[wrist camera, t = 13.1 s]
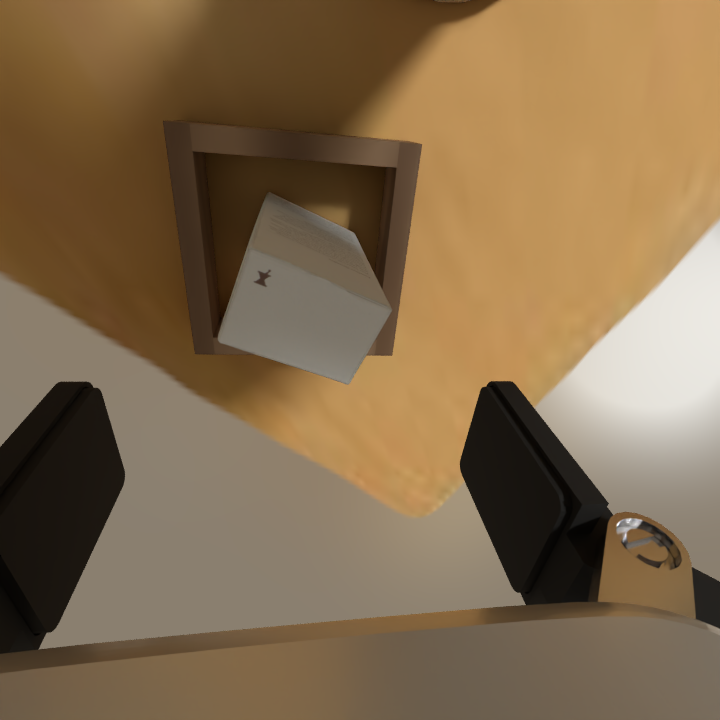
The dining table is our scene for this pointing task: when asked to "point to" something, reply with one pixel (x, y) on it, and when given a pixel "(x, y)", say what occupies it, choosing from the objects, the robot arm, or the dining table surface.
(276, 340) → the skincare box
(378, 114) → the dining table surface
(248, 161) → the dining table surface
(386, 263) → the socket
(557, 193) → the dining table surface
